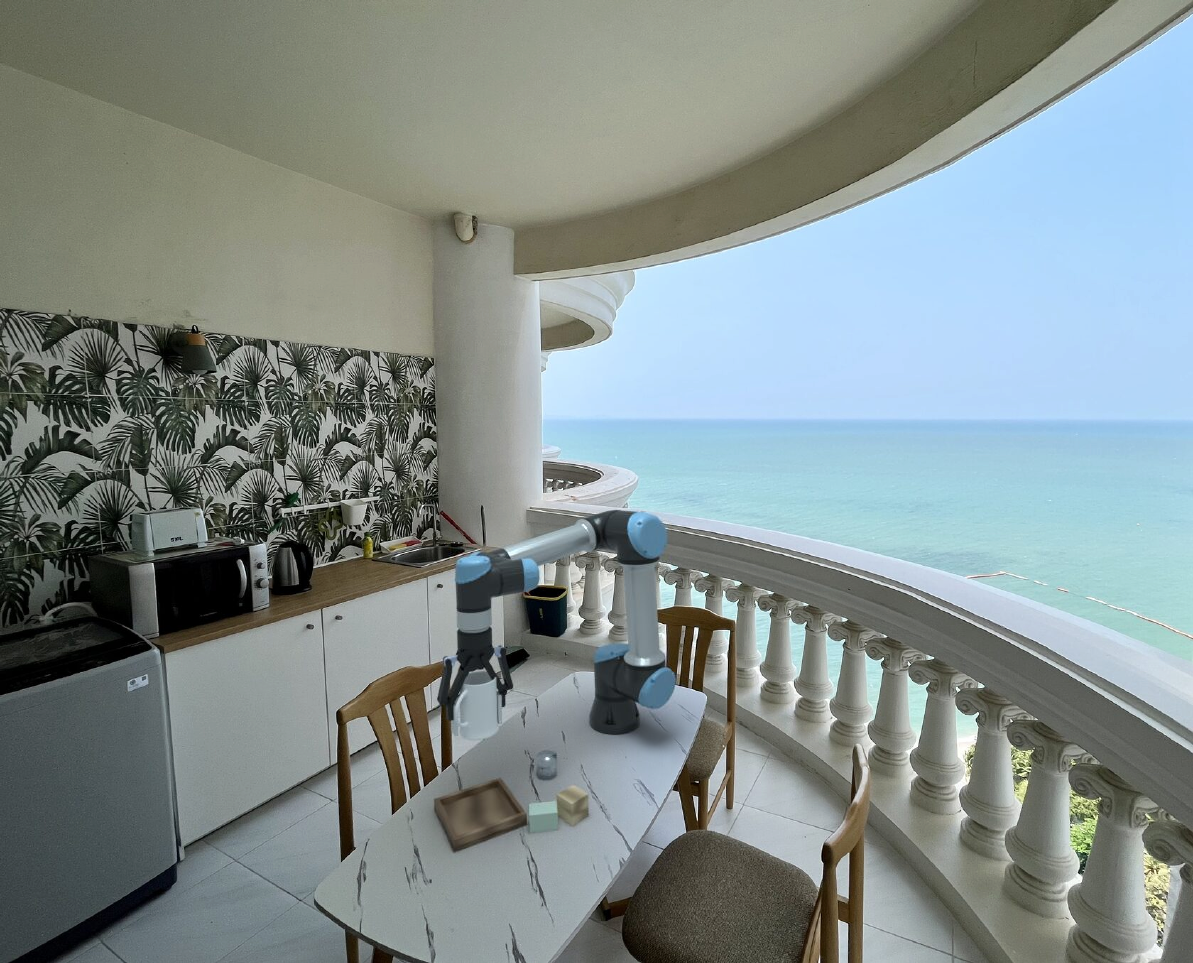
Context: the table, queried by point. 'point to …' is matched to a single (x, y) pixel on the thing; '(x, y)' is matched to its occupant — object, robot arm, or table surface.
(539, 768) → the grey tin
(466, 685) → the mug
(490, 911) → the table surface
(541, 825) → the sage block
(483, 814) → the tray
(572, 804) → the oak block
